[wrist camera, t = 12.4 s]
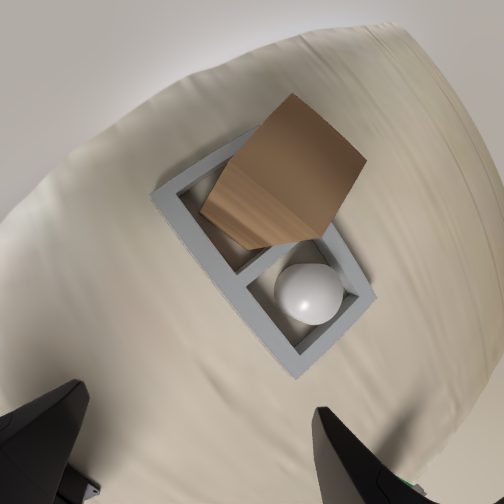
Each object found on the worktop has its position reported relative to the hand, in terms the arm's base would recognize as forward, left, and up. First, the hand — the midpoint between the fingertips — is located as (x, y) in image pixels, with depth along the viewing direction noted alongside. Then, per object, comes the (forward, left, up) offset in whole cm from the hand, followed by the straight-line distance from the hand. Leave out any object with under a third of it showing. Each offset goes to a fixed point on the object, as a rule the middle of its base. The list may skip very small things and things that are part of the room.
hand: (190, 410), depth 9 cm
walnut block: (+9, +5, -11) cm, 15 cm away
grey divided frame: (+9, +1, -11) cm, 15 cm away
